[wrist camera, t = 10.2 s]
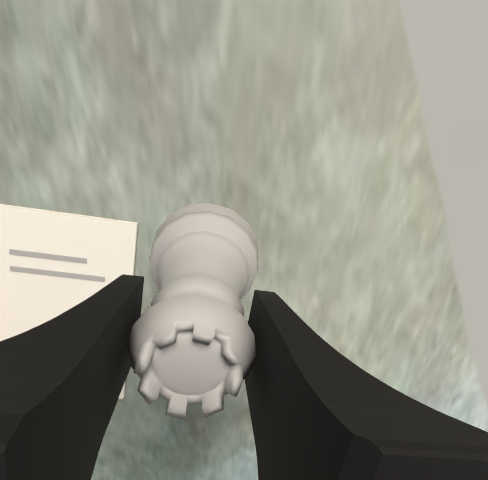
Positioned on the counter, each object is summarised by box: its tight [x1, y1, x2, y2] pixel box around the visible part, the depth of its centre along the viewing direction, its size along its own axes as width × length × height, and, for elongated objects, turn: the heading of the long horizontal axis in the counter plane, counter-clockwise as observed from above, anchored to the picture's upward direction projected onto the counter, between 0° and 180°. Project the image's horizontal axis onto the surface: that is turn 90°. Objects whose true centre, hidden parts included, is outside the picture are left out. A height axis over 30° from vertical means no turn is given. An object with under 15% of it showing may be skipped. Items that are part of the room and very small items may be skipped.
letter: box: [0, 204, 138, 399], centre depth 22 cm, size 12×9×1 cm
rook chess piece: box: [128, 203, 258, 419], centre depth 13 cm, size 4×4×8 cm
